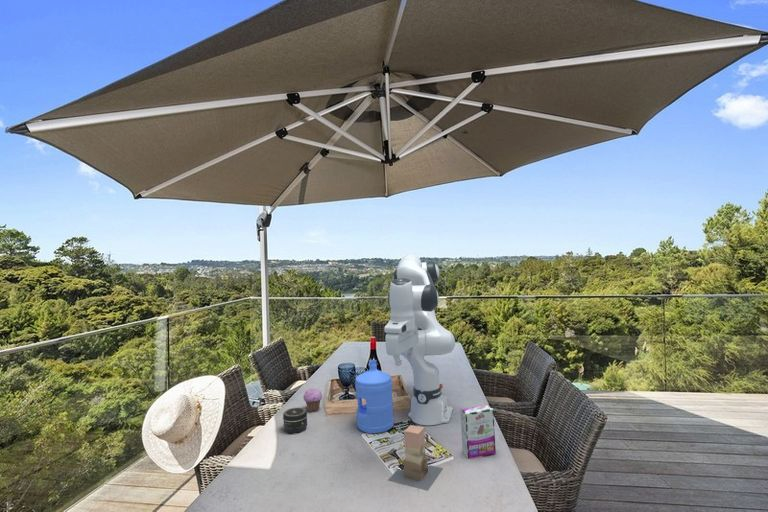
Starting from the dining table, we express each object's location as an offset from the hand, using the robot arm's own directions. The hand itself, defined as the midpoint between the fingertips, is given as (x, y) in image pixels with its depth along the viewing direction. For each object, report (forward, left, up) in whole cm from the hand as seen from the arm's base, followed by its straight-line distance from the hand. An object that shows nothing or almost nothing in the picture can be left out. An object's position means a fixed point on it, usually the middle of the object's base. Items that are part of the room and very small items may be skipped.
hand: (404, 361), depth 150 cm
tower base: (+11, +8, -34) cm, 36 cm away
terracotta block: (+11, +8, -24) cm, 27 cm away
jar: (-1, -53, -34) cm, 63 cm away
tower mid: (+11, +8, -29) cm, 32 cm away
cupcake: (-21, -59, -34) cm, 71 cm away
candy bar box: (-11, +23, -34) cm, 43 cm away
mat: (+11, +8, -34) cm, 37 cm away
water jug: (-17, -23, -34) cm, 45 cm away
